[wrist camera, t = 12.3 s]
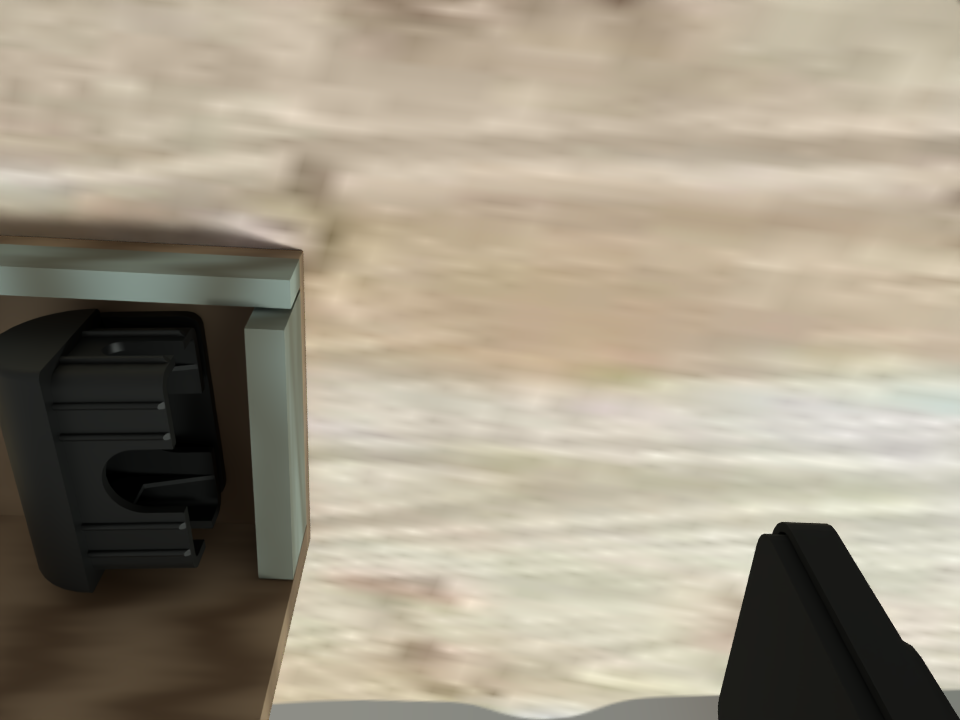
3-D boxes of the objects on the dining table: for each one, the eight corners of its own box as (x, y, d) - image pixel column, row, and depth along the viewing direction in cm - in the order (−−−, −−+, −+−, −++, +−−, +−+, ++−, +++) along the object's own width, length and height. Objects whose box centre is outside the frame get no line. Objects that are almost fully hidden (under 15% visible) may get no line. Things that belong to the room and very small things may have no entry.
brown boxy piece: (303, 250, 38) (236, 400, 27) (310, 538, 45) (259, 758, 33) (-138, 228, 37) (-405, 373, 26) (-64, 524, 44) (-250, 746, 32)
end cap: (29, 300, 38) (-52, 375, 32) (201, 299, 38) (152, 373, 32) (76, 498, 42) (13, 597, 36) (229, 496, 43) (192, 594, 37)
